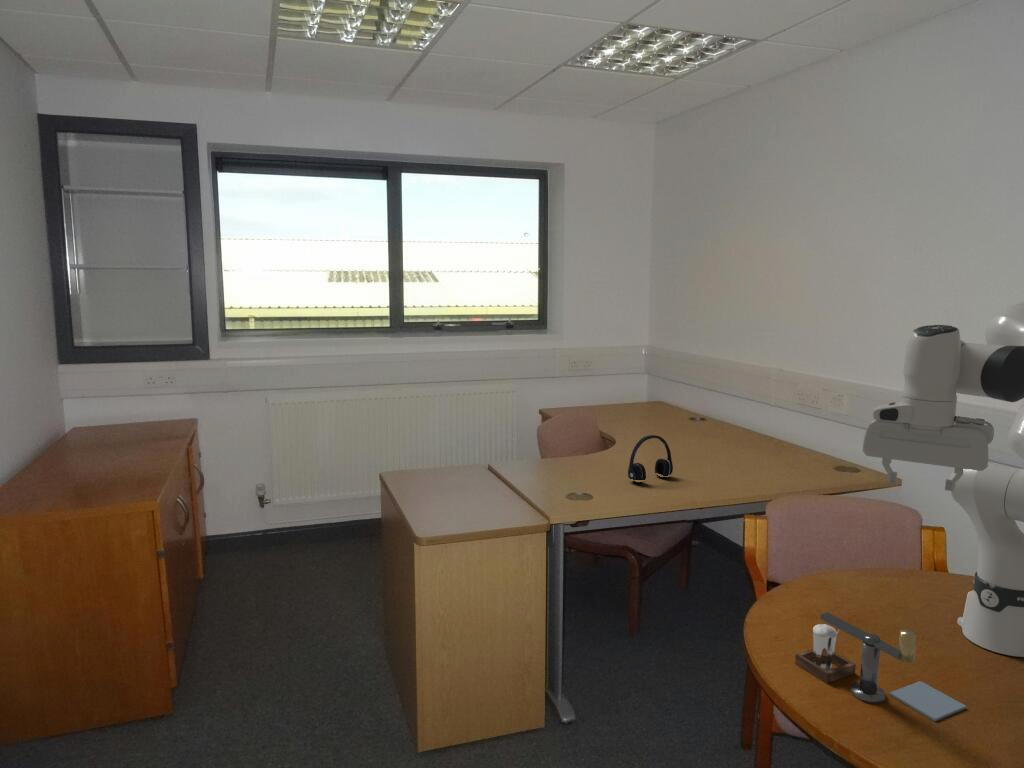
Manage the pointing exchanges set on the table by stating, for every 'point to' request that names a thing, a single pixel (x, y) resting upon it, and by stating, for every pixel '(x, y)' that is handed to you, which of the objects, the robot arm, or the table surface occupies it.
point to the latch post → (868, 677)
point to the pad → (927, 701)
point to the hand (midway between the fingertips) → (920, 485)
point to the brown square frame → (827, 676)
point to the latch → (878, 638)
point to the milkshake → (824, 645)
